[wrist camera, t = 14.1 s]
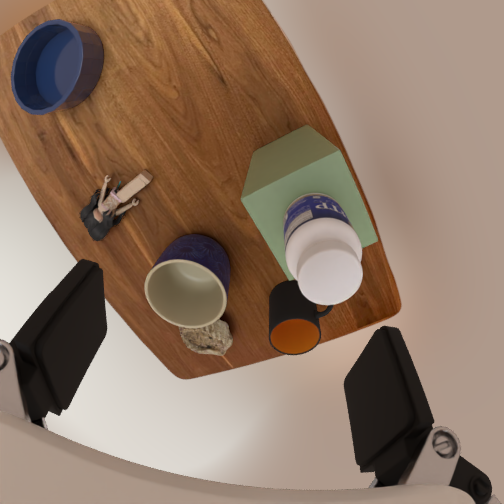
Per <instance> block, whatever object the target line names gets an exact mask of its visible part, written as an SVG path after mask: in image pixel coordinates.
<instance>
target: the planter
mask: <svg viewBox="0 0 504 504" xmlns="http://www.w3.org/2000/svg"><path fill="white" fill-rule="evenodd" d="M229 283H230V263H229V259H228V256H227V254H226V252H225V251H224V249H223V248H222V247H221V246H220V245H219V244H218V243H217V242H216V241H214V240H213V239H211V238H209V237H206V236H203V235H197V234H191V235H186V236H182V237H180V238H178V239H176V240H175V241H173V242H172V243H171V244H170V245H169V246H168V247H167V248H166V249H165V251H164V252H163V253H162V254H161V256H160V257H159V259H158V260H157V262H156V263H155V265H154V266H153V268H152V269H151V271H150V272H149V273H148V275H147V278H146V281H145V294H146V298H147V300H148V302H149V304H150V306H151V307H152V309H153V310H154V311H155V312H156V313H157V314H158V315H159V316H160V317H161V318H163V319H164V320H166V321H168V322H169V323H172V324H174V325H177V326H180V327H185V328H201V327H205V326H208V325H210V324H212V323H214V322H216V321H217V320H218V319H219V318H220V317H221V316H222V314H223V313H224V311H225V308H226V305H227V298H228V290H229Z"/></svg>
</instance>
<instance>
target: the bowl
mask: <svg viewBox="0 0 504 504" xmlns="http://www.w3.org/2000/svg"><path fill="white" fill-rule="evenodd" d="M103 62H104V51H103V46H102V42H101V40H100V38H99V36H98V35H97V33H96V32H95V31H94V30H93V29H91V28H90V27H87V26H85V25H82V24H78V23H74V22H70V21H65V20H61V19H57V20H50V21H47V22H45V23H43V24H41V25H39V26H37V27H36V28H35V29H34V30H32V31H31V32H30V33H29V34H28V35H27V36H26V38H25V39H24V40H23V42H22V43H21V45H20V47H19V48H18V51H17V53H16V56H15V58H14V61H13V66H12V72H11V85H12V91H13V94H14V97H15V100H16V102H17V103H18V104H19V105H20V107H21V108H22V109H23V110H25V111H27V112H28V113H30V114H35V115H44V114H49V113H53V112H58V111H63V110H66V109H70V108H73V107H75V106H77V105H78V104H80V103H81V102H82V101H84V100H85V99H86V98H87V97H88V96H89V95H90V93H91V92H92V91H93V89H94V88H95V86H96V84H97V82H98V80H99V78H100V75H101V72H102V68H103Z"/></svg>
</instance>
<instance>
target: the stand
mask: <svg viewBox="0 0 504 504" xmlns="http://www.w3.org/2000/svg"><path fill="white" fill-rule="evenodd" d="M309 193H322V194H325V195H328V196H330V197H332V198H333V199H335V200H336V201H337V202H338V203H339V204H340V206H341V207H342V209H343V211H344V212H345V214H346V216H347V217H348V219H349V221H350V222H351V224H352V226H353V228H354V230H355V232H356V233H357V235H358V238H359V240H360V243H361V247H362V248H364V247H366V246H368V245H370V244H372V243H374V242H377V241H378V238H377V236H376V233H375V231H374V228H373V225H372V223H371V220H370V218H369V215H368V213H367V210H366V208H365V205H364V203H363V200H362V198H361V196H360V193H359V191H358V189H357V186H356V184H355V182H354V179H353V177H352V175H351V173H350V170H349V168H348V166H347V164H346V162H345V159H344V157H343V155H342V153H341V151H340V150H339V149H338V148H337V147H336V146H334V145H333V144H332V143H331V142H329V141H328V140H327V139H326V138H324V137H323V136H322V135H321V134H319V133H318V132H317V131H315V130H314V129H313V128H311V127H310V126H309V125H305V126H303V127H301V128H299V129H297V130H295V131H293V132H291V133H289V134H287V135H285V136H283V137H281V138H279V139H277V140H275V141H273V142H271V143H269V144H267V145H265V146H263V147H261V148H260V149H258V150H256V151H254V152H253V155H252V159H251V163H250V166H249V170H248V173H247V177H246V181H245V185H244V188H243V192H242V196H241V201H242V203H243V204H244V206H245V208H246V209H247V211H248V213H249V214H250V216H251V218H252V219H253V221H254V223H255V224H256V226H257V228H258V229H259V231H260V233H261V234H262V236H263V238H264V239H265V241H266V242H267V244H268V246H269V247H270V249H271V251H272V253H273V254H274V256H275V258H276V259H277V261H278V263H279V264H280V266H281V268H282V269H283V271H284V273H285V274H286V276H287V278H288V279H289V281H291V280H293V279H295V278H294V277H293V275H292V274H291V273H290V271H289V269H288V266H287V263H286V257H285V243H284V230H283V219H284V215H285V212H286V210H287V208H288V207H289V205H290V204H291V203H292V202H293V201H294V200H295V199H297V198H298V197H300V196H302V195H305V194H309Z"/></svg>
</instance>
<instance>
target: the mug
mask: <svg viewBox="0 0 504 504" xmlns="http://www.w3.org/2000/svg"><path fill="white" fill-rule="evenodd" d="M333 305H334V304H333ZM333 305H328V307H327V309H326V310H325V311H323V312H318V311H317V307H316V303H314V302H312V301H310V300H308V299H307V298H306V297H305V296H304V295H303V294H302V292H301V290H300V288H299V285H298V281H296V280H291V281H285V282H282V283H280V284H278V285H277V286H276V287H275V288H274V289H273V290H272V292H271V294H270V298H269V341H270V344H271V345H272V347H273V348H274V349H275V350H277V351H278V352H280V353H283V354H287V355H299V354H304V353H306V352H309V351H311V350H312V349H313V348H315V347H316V346H317V345H318V343H319V341H320V339H321V331H320V324H319V319H318V318H320V317H323V316H325V315H327V314H328V313H329V312H330V311H331V310H332V308H333Z"/></svg>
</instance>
